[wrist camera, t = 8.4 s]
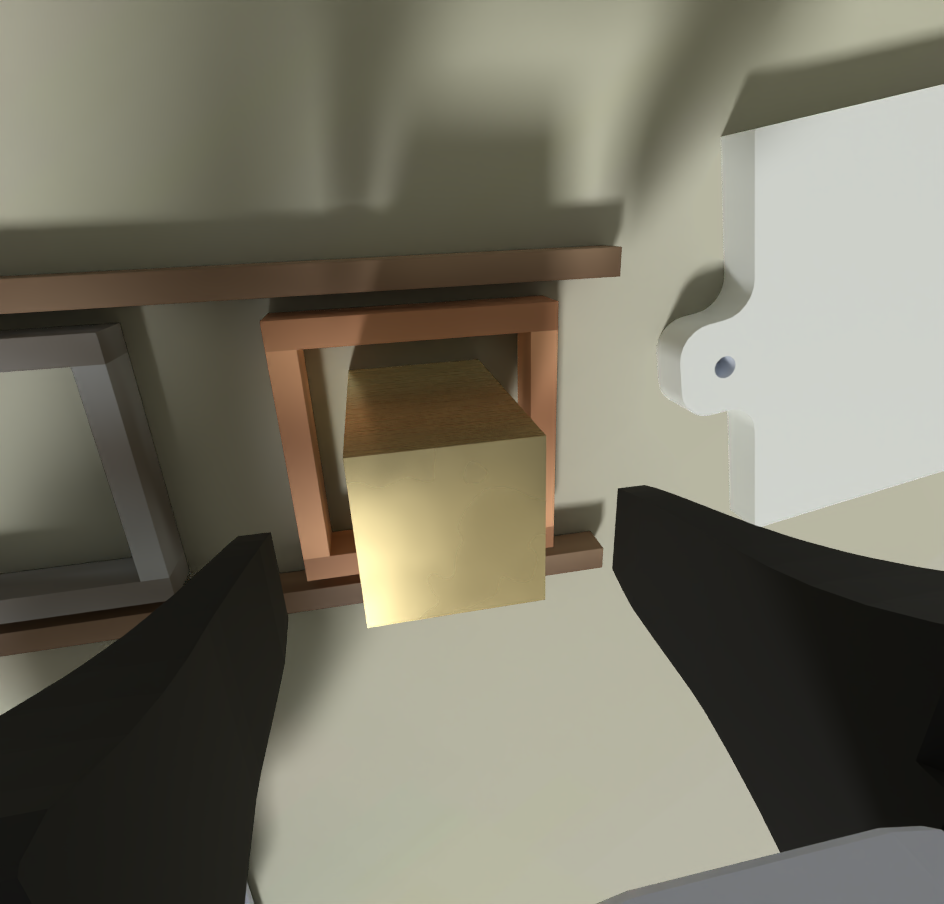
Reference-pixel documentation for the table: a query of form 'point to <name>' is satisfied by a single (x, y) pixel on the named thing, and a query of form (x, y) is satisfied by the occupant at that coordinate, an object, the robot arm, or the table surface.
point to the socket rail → (284, 336)
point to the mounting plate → (824, 308)
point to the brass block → (443, 491)
